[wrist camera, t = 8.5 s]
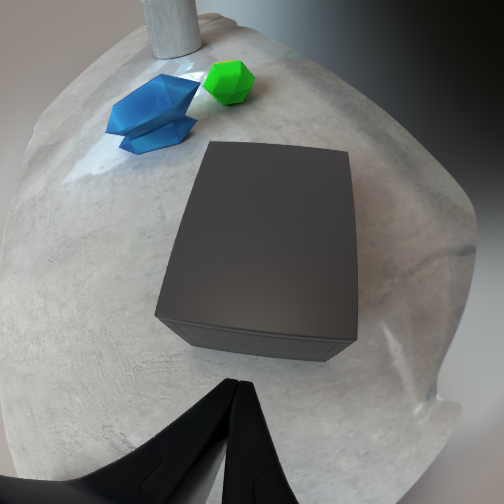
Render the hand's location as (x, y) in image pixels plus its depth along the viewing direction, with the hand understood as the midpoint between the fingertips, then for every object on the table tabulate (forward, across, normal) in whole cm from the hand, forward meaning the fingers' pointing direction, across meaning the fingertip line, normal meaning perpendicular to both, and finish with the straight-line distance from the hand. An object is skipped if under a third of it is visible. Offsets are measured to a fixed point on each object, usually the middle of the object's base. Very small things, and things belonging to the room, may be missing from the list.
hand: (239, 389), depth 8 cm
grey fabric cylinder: (+47, +23, -32) cm, 61 cm away
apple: (+32, +8, -16) cm, 36 cm away
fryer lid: (+9, 0, -3) cm, 10 cm away
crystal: (+24, +14, -9) cm, 29 cm away
